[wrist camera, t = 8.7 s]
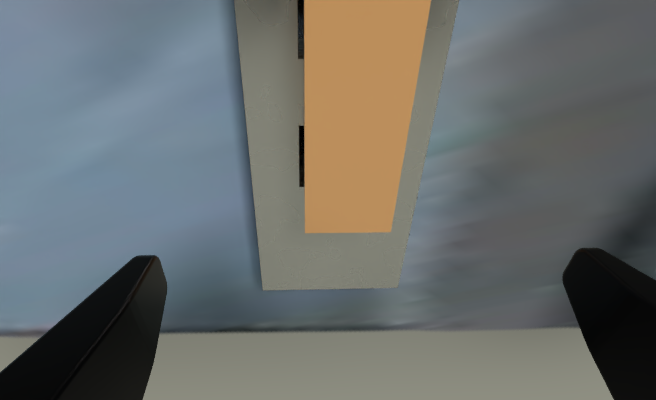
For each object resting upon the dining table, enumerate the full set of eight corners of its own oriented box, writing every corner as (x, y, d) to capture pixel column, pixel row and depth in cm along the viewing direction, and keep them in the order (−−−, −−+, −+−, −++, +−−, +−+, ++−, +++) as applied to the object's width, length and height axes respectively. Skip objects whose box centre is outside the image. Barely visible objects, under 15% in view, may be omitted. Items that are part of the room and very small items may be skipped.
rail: (494, -339, 11) (545, -403, 9) (388, 252, 26) (397, 287, 24) (215, -364, 11) (190, -438, 9) (266, 253, 25) (262, 290, 23)
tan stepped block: (390, -44, 16) (433, -18, 11) (368, 151, 21) (390, 232, 16) (303, -47, 16) (304, -21, 10) (304, 151, 21) (304, 233, 16)
